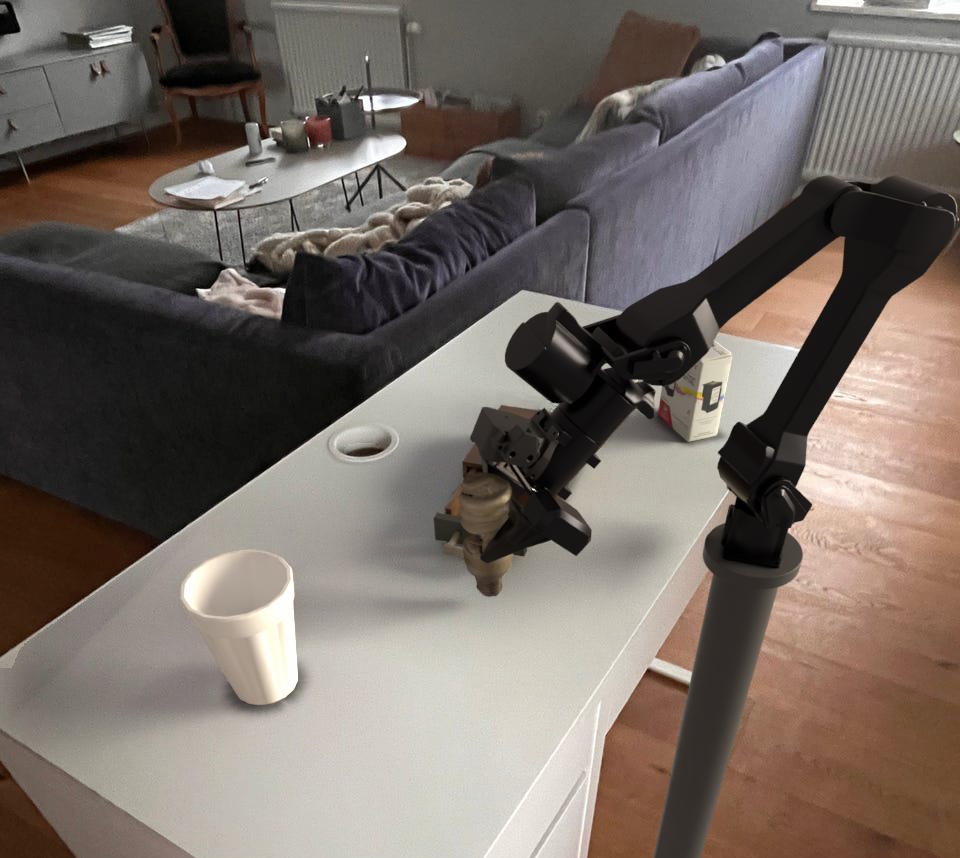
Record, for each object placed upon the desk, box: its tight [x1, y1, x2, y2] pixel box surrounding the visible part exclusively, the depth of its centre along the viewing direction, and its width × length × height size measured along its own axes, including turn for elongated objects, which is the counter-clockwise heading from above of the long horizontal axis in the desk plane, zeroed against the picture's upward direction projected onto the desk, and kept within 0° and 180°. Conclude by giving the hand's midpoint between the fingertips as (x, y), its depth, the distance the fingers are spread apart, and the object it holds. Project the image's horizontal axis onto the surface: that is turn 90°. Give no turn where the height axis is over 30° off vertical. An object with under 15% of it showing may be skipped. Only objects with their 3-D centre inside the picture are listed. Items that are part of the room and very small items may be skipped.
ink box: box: [657, 340, 733, 443], centre depth 112 cm, size 9×5×12 cm, turn 21°
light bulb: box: [459, 472, 515, 598], centre depth 83 cm, size 6×6×15 cm
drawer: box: [433, 467, 537, 559], centre depth 98 cm, size 18×11×3 cm, turn 160°
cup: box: [178, 548, 299, 706], centre depth 77 cm, size 10×10×13 cm
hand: (474, 545), depth 83 cm, fingers closed on light bulb, 5 cm apart
